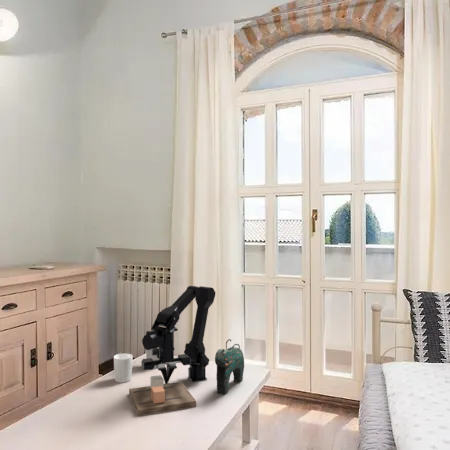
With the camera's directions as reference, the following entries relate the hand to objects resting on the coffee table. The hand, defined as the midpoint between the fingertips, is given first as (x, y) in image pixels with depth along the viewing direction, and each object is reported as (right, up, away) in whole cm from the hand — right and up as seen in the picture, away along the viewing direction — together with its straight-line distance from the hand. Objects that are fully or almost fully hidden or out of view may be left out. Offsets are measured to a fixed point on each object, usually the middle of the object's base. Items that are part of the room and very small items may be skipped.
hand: (166, 383), depth 164 cm
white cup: (-20, -4, +14) cm, 25 cm away
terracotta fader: (-1, -1, -12) cm, 12 cm away
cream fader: (-3, -1, -1) cm, 4 cm away
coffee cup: (-10, -4, +31) cm, 32 cm away
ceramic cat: (+25, -4, +7) cm, 26 cm away
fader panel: (-1, -4, -7) cm, 8 cm away
